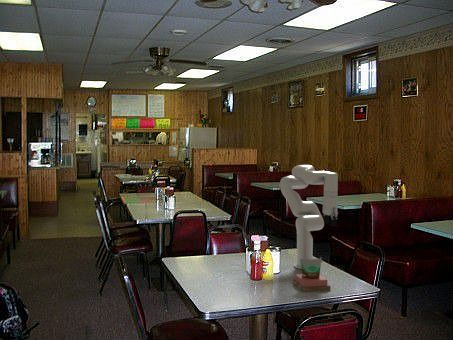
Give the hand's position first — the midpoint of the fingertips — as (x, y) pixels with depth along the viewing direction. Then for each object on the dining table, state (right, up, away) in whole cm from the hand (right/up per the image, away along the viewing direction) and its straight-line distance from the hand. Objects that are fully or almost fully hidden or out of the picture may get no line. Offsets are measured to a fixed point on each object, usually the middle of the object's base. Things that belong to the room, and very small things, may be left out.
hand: (330, 224), depth 273 cm
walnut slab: (-13, -32, -15) cm, 37 cm away
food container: (-13, -26, -16) cm, 33 cm away
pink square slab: (-13, -29, -15) cm, 35 cm away
